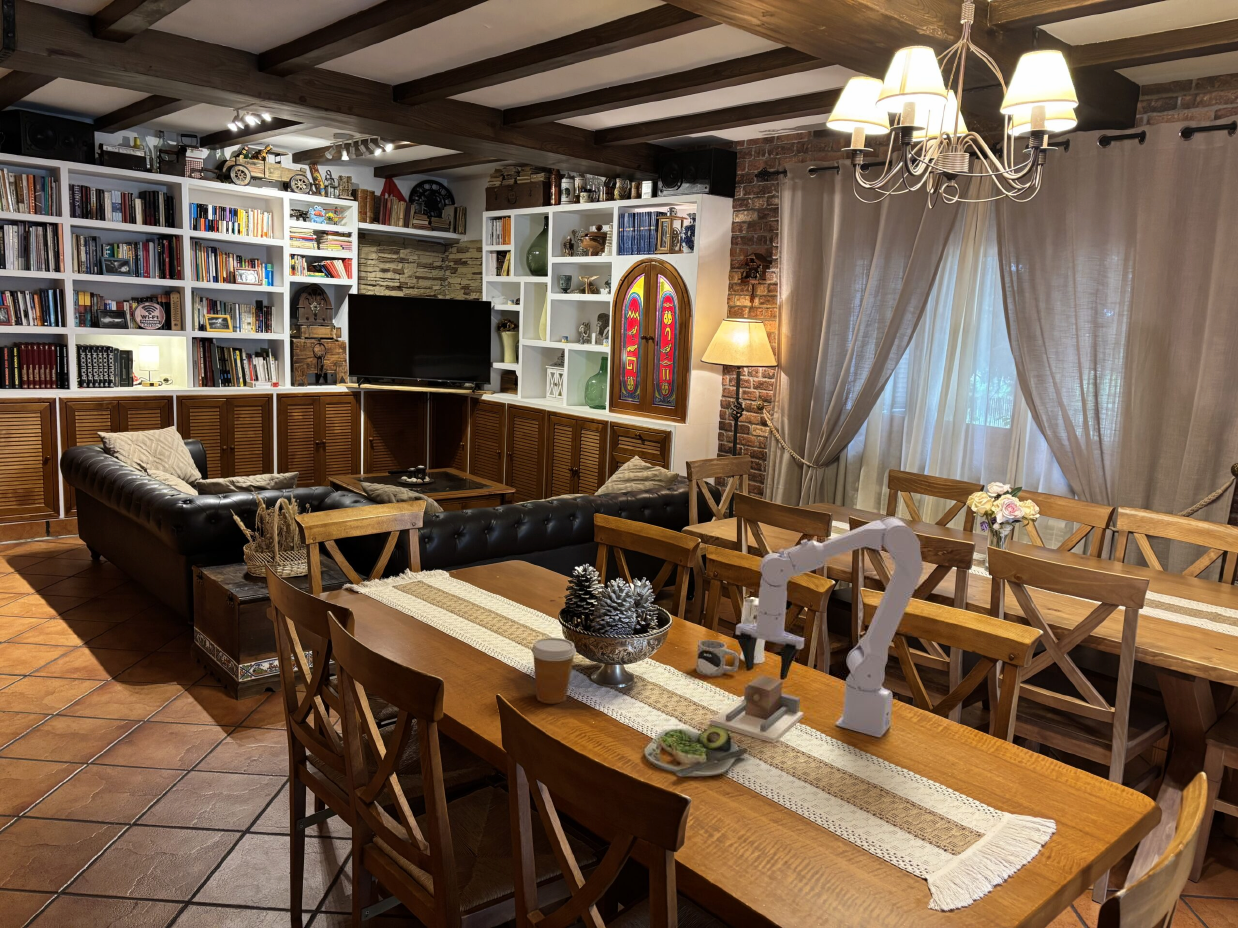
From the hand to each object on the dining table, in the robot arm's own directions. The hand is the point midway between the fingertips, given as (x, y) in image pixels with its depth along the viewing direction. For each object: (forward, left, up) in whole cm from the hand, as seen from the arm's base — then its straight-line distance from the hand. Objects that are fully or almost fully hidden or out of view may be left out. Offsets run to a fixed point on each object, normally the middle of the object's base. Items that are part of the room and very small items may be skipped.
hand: (766, 673), depth 191 cm
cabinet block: (0, 0, -8) cm, 8 cm away
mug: (+19, -17, -10) cm, 27 cm away
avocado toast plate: (+3, +26, -10) cm, 28 cm away
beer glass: (+16, -31, -10) cm, 36 cm away
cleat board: (0, +3, -9) cm, 10 cm away
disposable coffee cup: (+40, +21, -10) cm, 46 cm away
